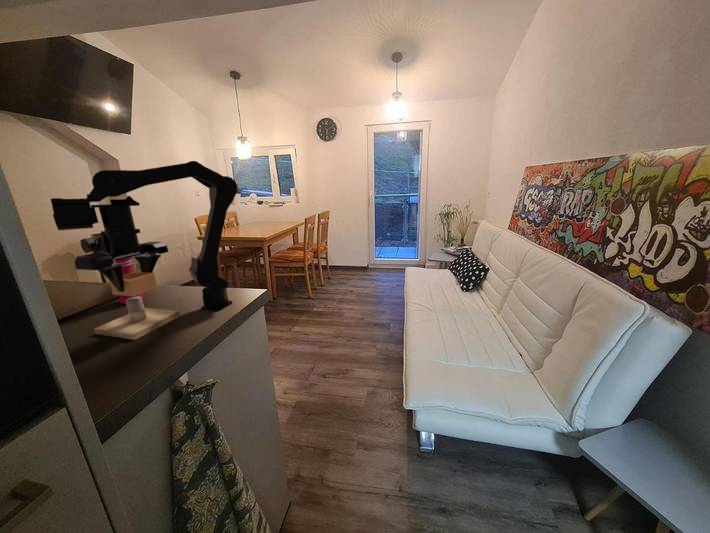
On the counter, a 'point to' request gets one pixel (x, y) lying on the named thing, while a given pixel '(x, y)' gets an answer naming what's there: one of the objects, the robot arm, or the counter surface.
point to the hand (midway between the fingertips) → (134, 287)
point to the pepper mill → (125, 270)
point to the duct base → (137, 327)
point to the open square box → (136, 283)
